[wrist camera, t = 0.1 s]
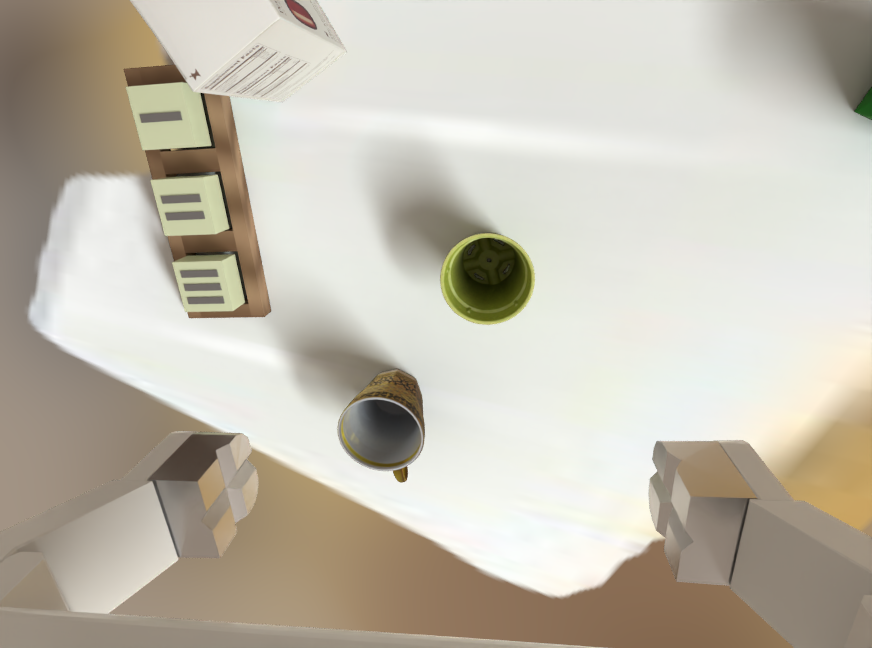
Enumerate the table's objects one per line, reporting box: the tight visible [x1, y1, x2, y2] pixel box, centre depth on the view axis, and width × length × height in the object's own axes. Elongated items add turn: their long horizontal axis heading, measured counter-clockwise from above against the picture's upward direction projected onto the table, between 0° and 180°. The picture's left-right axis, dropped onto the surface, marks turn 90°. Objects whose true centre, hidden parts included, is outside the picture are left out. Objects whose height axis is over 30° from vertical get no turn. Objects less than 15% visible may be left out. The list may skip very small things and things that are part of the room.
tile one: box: [126, 82, 211, 150], centre depth 51 cm, size 6×6×3 cm
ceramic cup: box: [338, 369, 425, 482], centre depth 61 cm, size 13×10×10 cm
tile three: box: [172, 254, 245, 312], centre depth 58 cm, size 6×6×3 cm
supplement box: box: [130, 0, 347, 102], centre depth 43 cm, size 10×9×17 cm
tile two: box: [150, 175, 229, 236], centre depth 55 cm, size 6×6×3 cm
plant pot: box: [440, 233, 535, 325], centre depth 53 cm, size 9×9×9 cm
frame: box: [124, 65, 271, 318], centre depth 57 cm, size 28×10×2 cm, turn 3°
